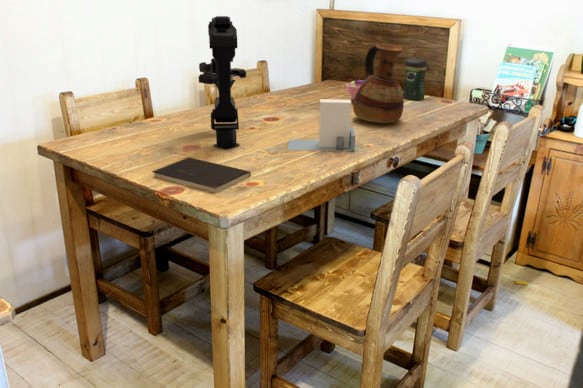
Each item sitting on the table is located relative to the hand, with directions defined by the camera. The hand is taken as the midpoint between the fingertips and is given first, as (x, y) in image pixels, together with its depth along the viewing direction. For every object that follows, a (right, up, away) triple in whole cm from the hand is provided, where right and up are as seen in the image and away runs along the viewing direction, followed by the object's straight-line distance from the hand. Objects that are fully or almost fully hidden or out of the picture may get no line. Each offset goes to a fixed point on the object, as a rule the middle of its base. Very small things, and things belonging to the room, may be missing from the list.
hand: (223, 100), depth 197 cm
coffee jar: (+82, +11, +63) cm, 104 cm away
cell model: (+59, +9, +56) cm, 81 cm away
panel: (+38, -17, -12) cm, 44 cm away
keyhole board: (+34, -18, -12) cm, 41 cm away
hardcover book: (-1, -29, -39) cm, 49 cm away
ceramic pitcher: (+59, -5, +23) cm, 63 cm away
